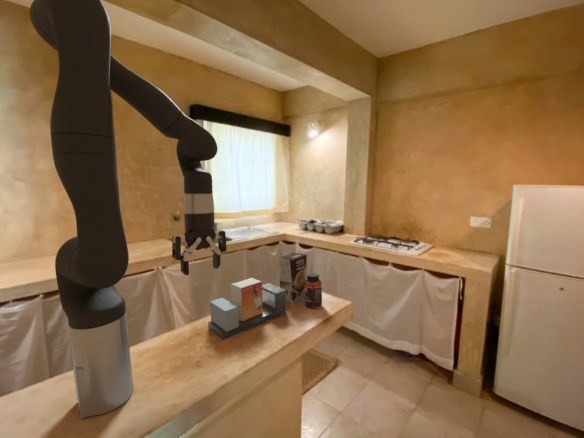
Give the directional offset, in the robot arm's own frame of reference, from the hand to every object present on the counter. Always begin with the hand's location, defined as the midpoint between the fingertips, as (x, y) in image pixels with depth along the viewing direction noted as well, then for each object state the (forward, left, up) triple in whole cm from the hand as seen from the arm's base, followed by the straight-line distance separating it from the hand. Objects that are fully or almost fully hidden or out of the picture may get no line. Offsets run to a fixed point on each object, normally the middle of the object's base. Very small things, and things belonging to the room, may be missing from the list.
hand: (201, 271), depth 75 cm
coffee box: (+37, +3, -20) cm, 42 cm away
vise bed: (+14, 0, -20) cm, 24 cm away
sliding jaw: (+6, 0, -17) cm, 18 cm away
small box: (+14, 0, -18) cm, 23 cm away
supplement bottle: (+37, -7, -20) cm, 42 cm away
